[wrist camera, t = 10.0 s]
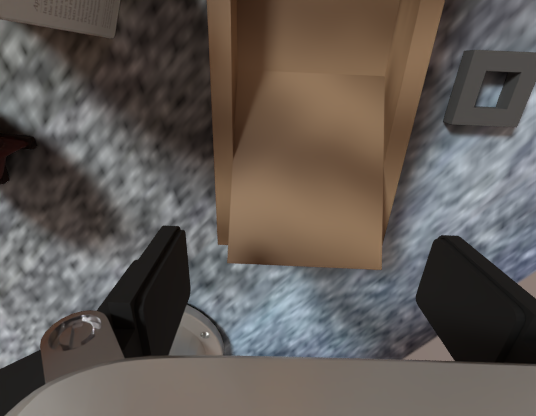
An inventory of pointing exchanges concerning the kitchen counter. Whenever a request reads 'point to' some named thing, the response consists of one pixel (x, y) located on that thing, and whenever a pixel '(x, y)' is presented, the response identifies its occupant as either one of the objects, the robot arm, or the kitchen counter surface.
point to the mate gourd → (12, 150)
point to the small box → (65, 15)
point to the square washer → (512, 95)
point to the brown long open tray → (313, 123)
